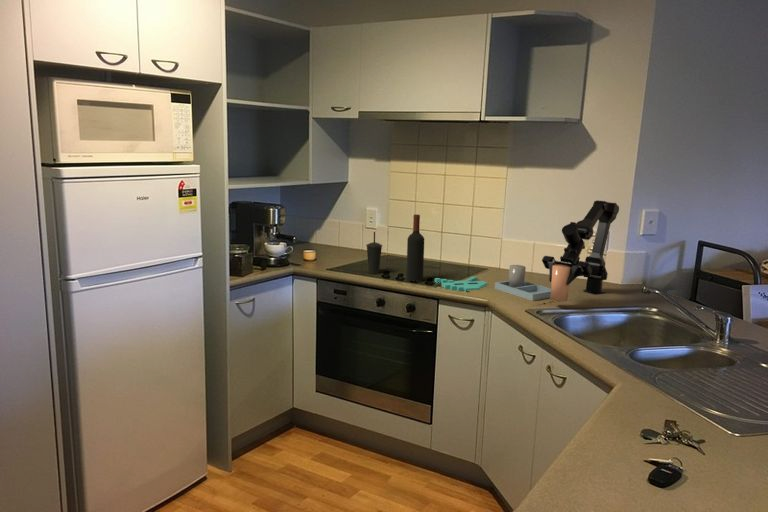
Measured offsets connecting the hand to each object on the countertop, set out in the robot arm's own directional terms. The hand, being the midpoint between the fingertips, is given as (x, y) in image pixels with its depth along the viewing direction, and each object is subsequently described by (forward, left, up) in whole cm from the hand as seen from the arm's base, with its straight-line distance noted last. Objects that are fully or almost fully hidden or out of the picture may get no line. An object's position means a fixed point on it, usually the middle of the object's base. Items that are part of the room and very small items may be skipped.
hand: (558, 283), depth 228 cm
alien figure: (+10, -44, -11) cm, 46 cm away
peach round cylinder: (-1, 0, -7) cm, 7 cm away
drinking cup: (+32, -83, -10) cm, 90 cm away
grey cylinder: (-4, -26, -9) cm, 27 cm away
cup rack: (-4, -20, -10) cm, 23 cm away
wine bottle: (+23, -62, -10) cm, 67 cm away
